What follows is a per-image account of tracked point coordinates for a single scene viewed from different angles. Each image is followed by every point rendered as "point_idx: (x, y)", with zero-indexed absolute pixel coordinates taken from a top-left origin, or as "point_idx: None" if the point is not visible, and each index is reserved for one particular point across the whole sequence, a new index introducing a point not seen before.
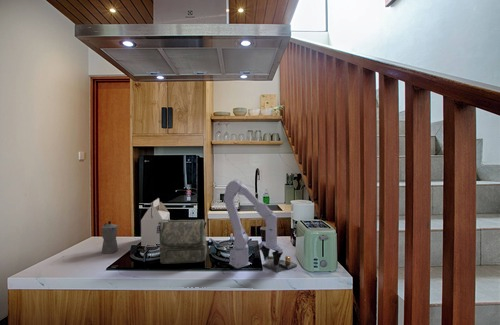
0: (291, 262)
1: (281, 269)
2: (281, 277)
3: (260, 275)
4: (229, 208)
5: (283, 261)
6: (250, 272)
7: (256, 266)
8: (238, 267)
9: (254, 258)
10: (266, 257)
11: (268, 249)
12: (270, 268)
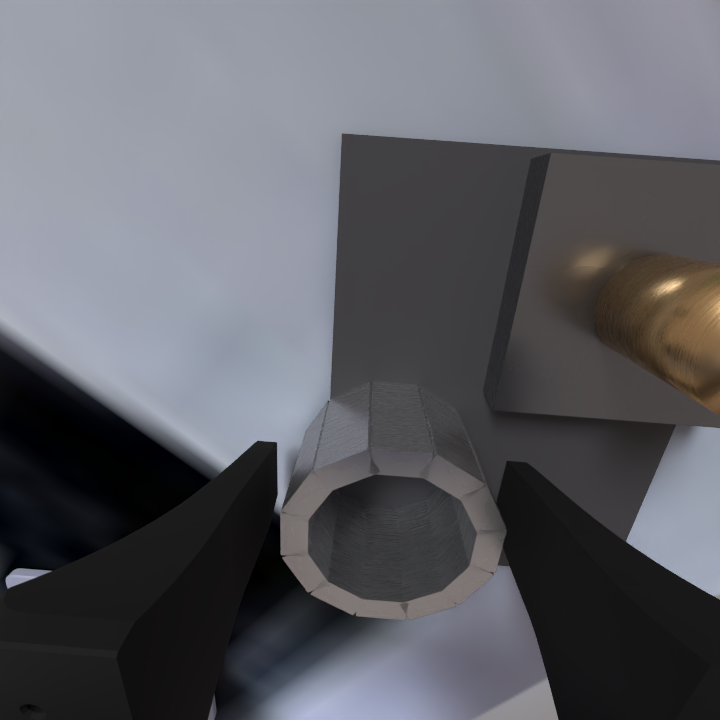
0: (693, 203)
1: (607, 469)
2: (705, 588)
3: (484, 673)
4: None
5: (431, 191)
6: (361, 685)
7: (277, 576)
8: (211, 715)
9: (15, 434)
10: (309, 579)
11: (184, 622)
12: None
